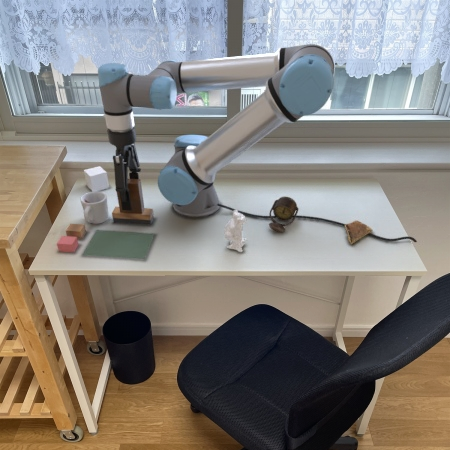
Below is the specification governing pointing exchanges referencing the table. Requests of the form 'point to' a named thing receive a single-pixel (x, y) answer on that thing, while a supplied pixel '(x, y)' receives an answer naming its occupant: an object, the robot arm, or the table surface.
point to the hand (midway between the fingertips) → (131, 200)
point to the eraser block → (67, 244)
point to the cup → (95, 207)
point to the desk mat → (119, 244)
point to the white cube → (96, 178)
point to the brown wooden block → (133, 207)
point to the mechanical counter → (283, 213)
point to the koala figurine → (235, 231)
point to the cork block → (76, 230)
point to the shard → (357, 231)
